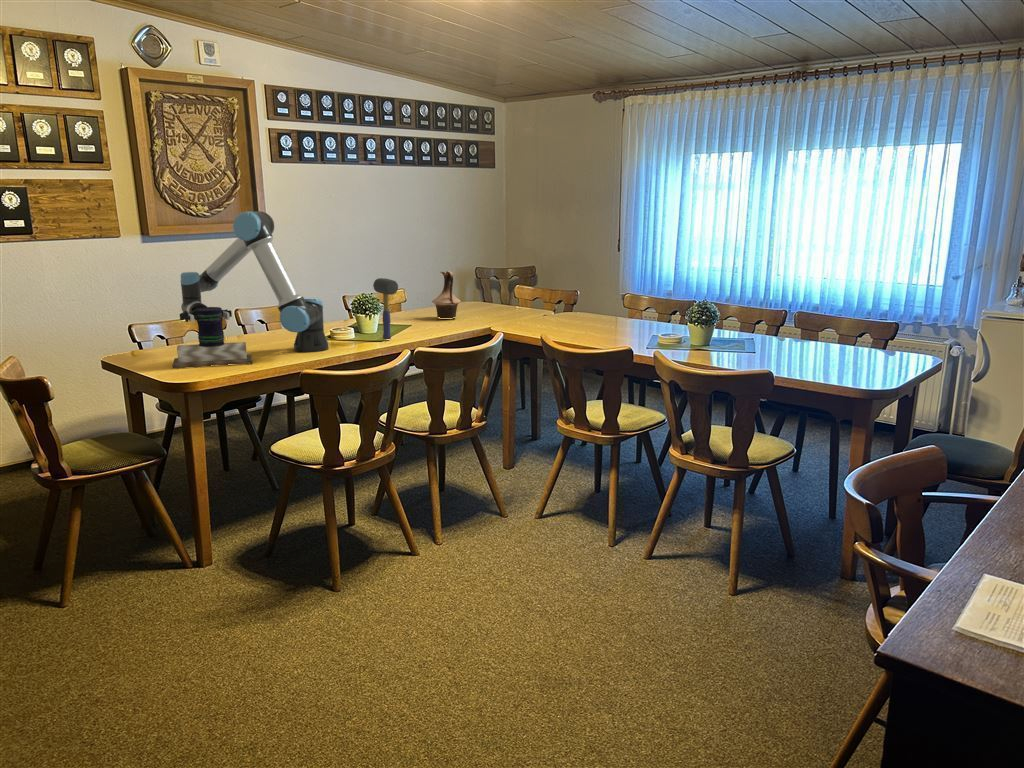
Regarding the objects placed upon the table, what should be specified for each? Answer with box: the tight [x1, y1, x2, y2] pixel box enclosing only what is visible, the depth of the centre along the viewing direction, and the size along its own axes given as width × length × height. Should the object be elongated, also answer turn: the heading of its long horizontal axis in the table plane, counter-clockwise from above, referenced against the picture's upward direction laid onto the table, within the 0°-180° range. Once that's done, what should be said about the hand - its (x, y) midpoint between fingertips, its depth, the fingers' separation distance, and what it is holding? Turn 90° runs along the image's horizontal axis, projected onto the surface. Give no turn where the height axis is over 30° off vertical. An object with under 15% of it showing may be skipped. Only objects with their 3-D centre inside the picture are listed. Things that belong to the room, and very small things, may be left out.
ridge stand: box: [171, 341, 253, 369], centre depth 299 cm, size 30×14×8 cm, turn 111°
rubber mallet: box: [372, 277, 399, 340], centre depth 352 cm, size 12×8×30 cm, turn 42°
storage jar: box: [196, 306, 225, 347], centre depth 297 cm, size 10×10×15 cm
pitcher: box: [431, 270, 462, 318], centre depth 421 cm, size 18×17×28 cm
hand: (211, 317), depth 294 cm, fingers open, 13 cm apart
